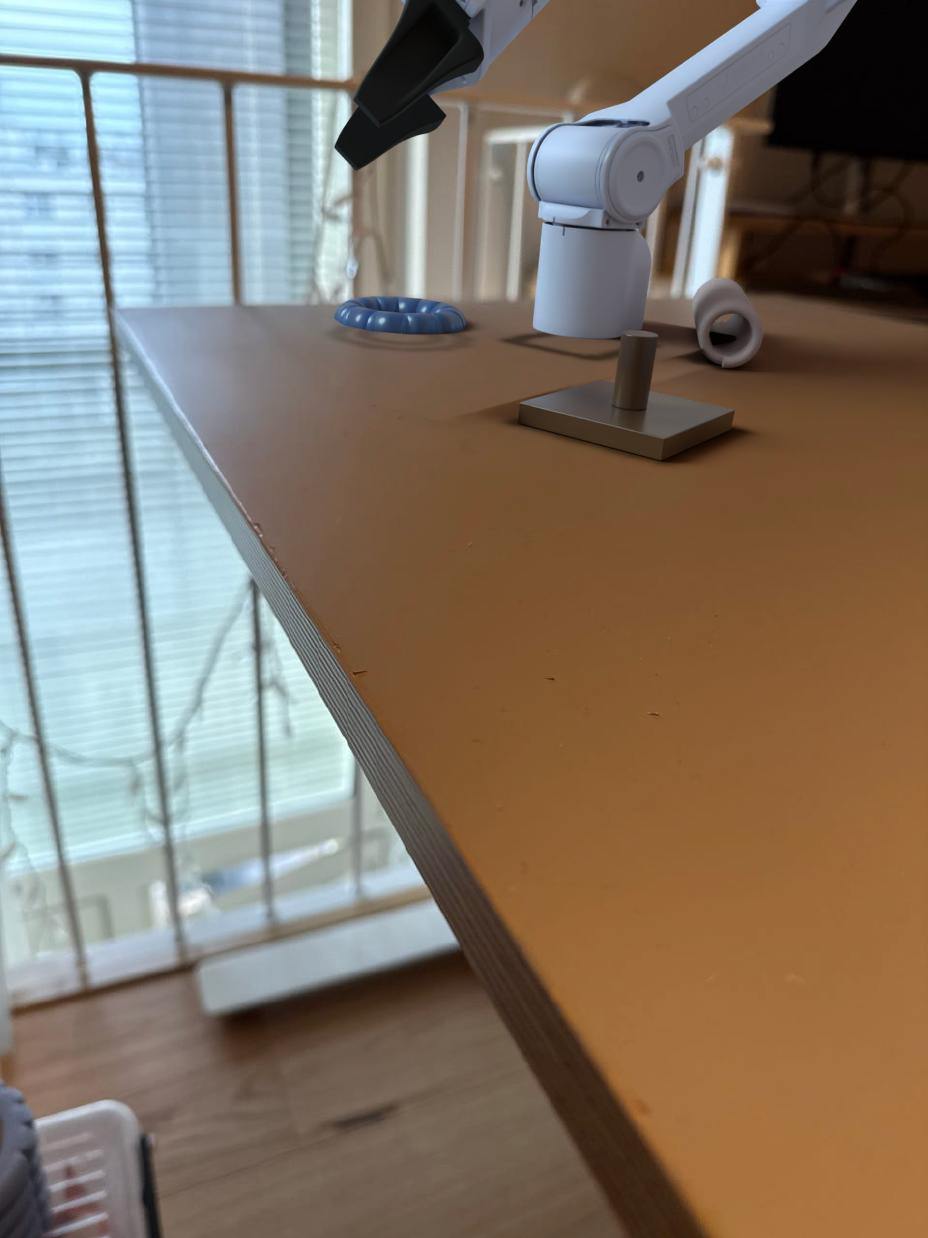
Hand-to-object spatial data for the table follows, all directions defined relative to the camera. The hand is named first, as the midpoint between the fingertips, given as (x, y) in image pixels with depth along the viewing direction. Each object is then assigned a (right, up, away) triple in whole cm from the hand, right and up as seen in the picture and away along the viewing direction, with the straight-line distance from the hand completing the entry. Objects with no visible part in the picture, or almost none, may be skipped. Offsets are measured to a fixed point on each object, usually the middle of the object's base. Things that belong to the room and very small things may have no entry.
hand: (355, 136), depth 58 cm
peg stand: (+16, -19, -4) cm, 25 cm away
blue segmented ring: (+2, -7, +14) cm, 16 cm away
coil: (+28, -7, +20) cm, 35 cm away
